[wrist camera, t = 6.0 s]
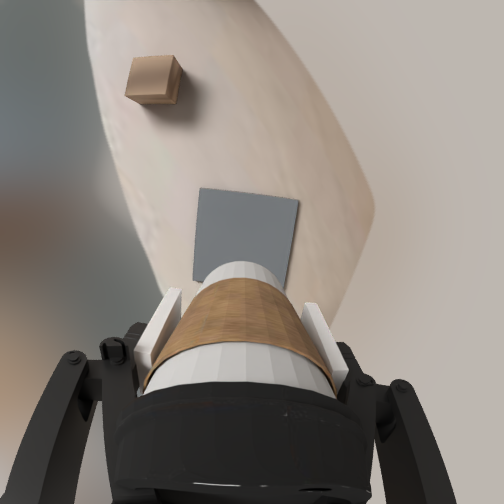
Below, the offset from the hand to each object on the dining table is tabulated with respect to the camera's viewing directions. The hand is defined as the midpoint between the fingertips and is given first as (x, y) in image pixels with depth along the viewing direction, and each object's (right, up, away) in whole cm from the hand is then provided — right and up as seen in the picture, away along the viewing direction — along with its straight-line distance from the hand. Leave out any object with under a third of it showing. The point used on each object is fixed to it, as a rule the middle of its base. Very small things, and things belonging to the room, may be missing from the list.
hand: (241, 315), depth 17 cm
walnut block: (-11, +25, +12) cm, 30 cm away
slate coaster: (0, +5, +18) cm, 19 cm away
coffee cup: (0, +1, +2) cm, 2 cm away
